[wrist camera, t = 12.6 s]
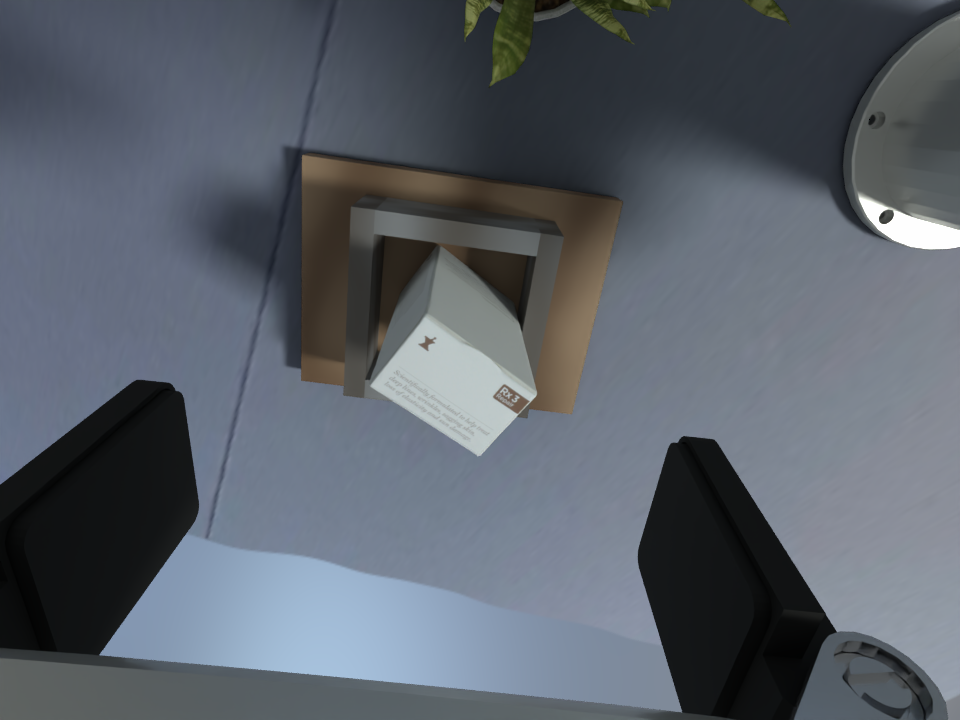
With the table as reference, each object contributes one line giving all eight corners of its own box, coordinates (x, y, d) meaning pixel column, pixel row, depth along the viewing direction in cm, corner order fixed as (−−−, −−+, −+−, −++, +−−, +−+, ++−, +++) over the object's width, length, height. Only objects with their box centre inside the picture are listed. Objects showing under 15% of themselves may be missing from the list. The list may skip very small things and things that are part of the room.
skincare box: (397, 296, 34) (355, 389, 23) (441, 238, 32) (419, 308, 21) (477, 353, 35) (474, 466, 24) (522, 300, 34) (540, 396, 23)
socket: (617, 197, 33) (641, 215, 28) (568, 403, 39) (581, 447, 34) (309, 152, 32) (277, 162, 27) (307, 370, 38) (281, 411, 33)
